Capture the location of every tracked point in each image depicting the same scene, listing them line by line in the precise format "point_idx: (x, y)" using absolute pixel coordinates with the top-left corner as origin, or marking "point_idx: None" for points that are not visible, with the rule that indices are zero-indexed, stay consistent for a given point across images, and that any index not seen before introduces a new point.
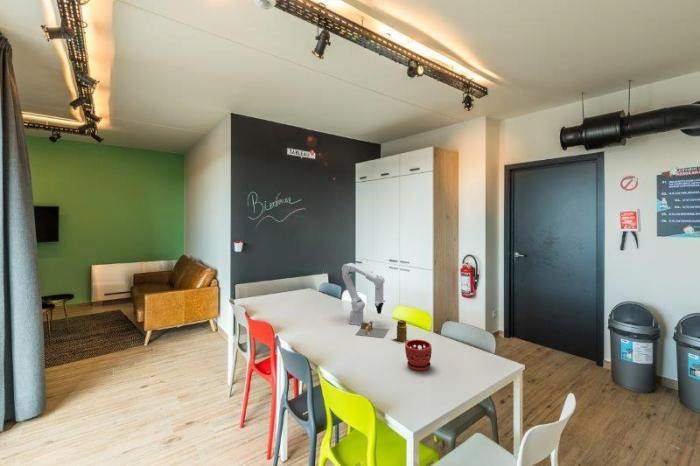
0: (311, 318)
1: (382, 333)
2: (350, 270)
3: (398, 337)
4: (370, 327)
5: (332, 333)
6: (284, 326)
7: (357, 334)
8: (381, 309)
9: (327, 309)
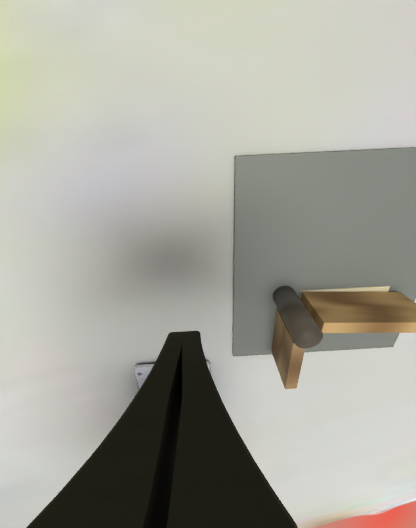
0: None
1: (370, 187)
2: None
3: None
4: (326, 306)
5: (363, 423)
6: (301, 523)
7: (390, 338)
8: (172, 384)
9: None
